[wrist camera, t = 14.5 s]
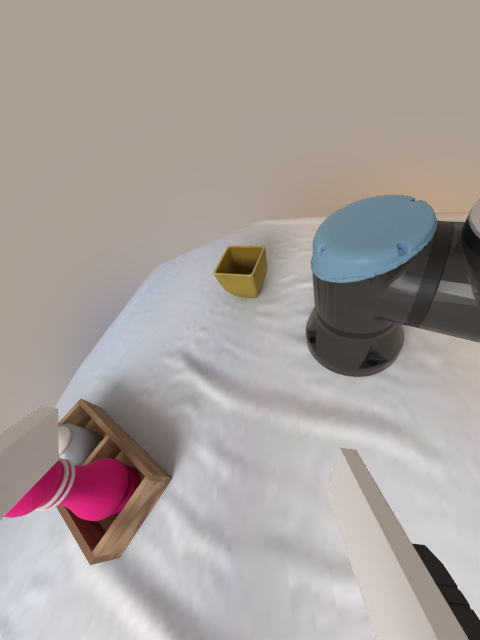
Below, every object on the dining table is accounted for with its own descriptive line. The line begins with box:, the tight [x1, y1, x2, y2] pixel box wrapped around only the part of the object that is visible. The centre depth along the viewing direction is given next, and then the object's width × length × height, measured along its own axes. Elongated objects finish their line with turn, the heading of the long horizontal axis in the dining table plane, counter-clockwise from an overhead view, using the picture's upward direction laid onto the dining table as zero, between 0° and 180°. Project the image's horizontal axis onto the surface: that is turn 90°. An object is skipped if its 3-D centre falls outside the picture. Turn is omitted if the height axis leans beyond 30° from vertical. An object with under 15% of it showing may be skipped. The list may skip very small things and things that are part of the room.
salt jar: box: [58, 424, 104, 466], centre depth 41 cm, size 6×6×7 cm
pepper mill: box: [4, 458, 140, 521], centre depth 30 cm, size 7×7×20 cm
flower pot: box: [213, 246, 267, 298], centre depth 54 cm, size 9×9×9 cm
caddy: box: [56, 399, 172, 565], centre depth 39 cm, size 11×21×6 cm, turn 56°
